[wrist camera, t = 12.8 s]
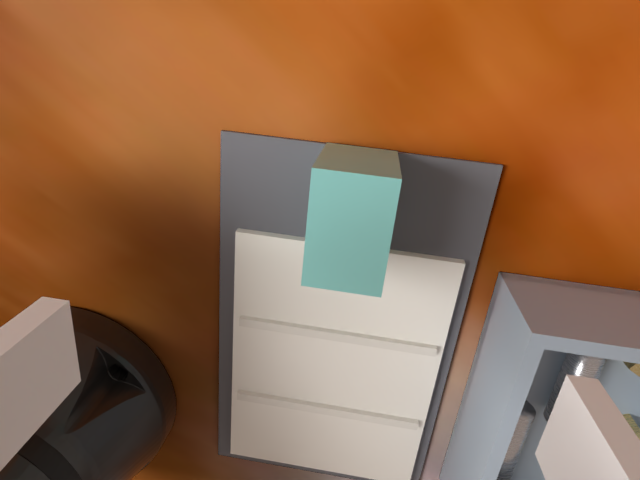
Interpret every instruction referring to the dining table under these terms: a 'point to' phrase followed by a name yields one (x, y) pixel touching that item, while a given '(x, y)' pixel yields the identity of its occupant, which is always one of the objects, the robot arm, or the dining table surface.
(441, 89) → the dining table surface
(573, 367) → the parts
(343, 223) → the lid
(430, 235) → the mat
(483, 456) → the tub
